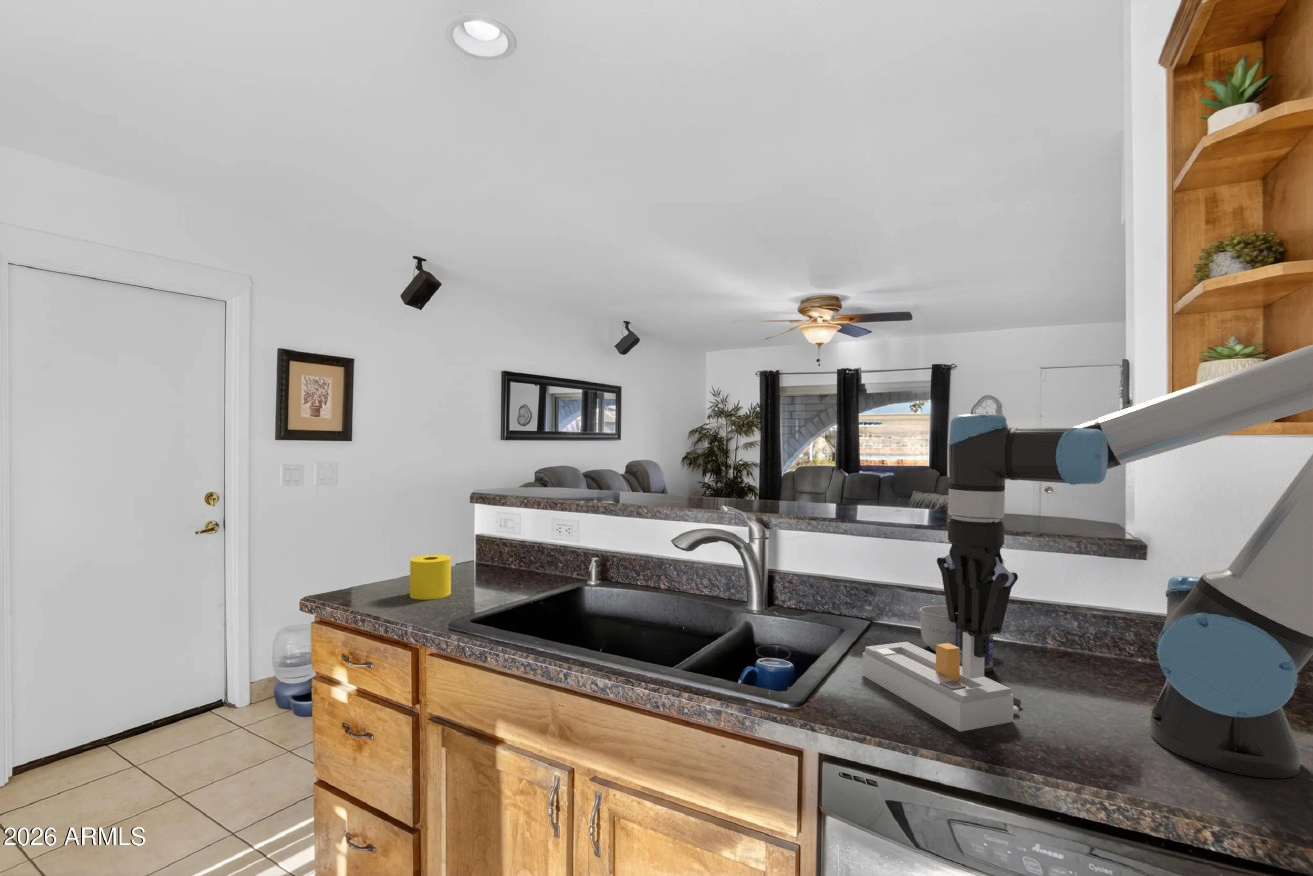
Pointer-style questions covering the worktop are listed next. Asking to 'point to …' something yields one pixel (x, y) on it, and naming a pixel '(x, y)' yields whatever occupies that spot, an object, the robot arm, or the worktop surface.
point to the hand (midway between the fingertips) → (973, 675)
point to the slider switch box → (937, 687)
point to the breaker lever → (948, 661)
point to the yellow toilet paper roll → (430, 577)
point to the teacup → (937, 626)
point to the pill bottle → (988, 660)
